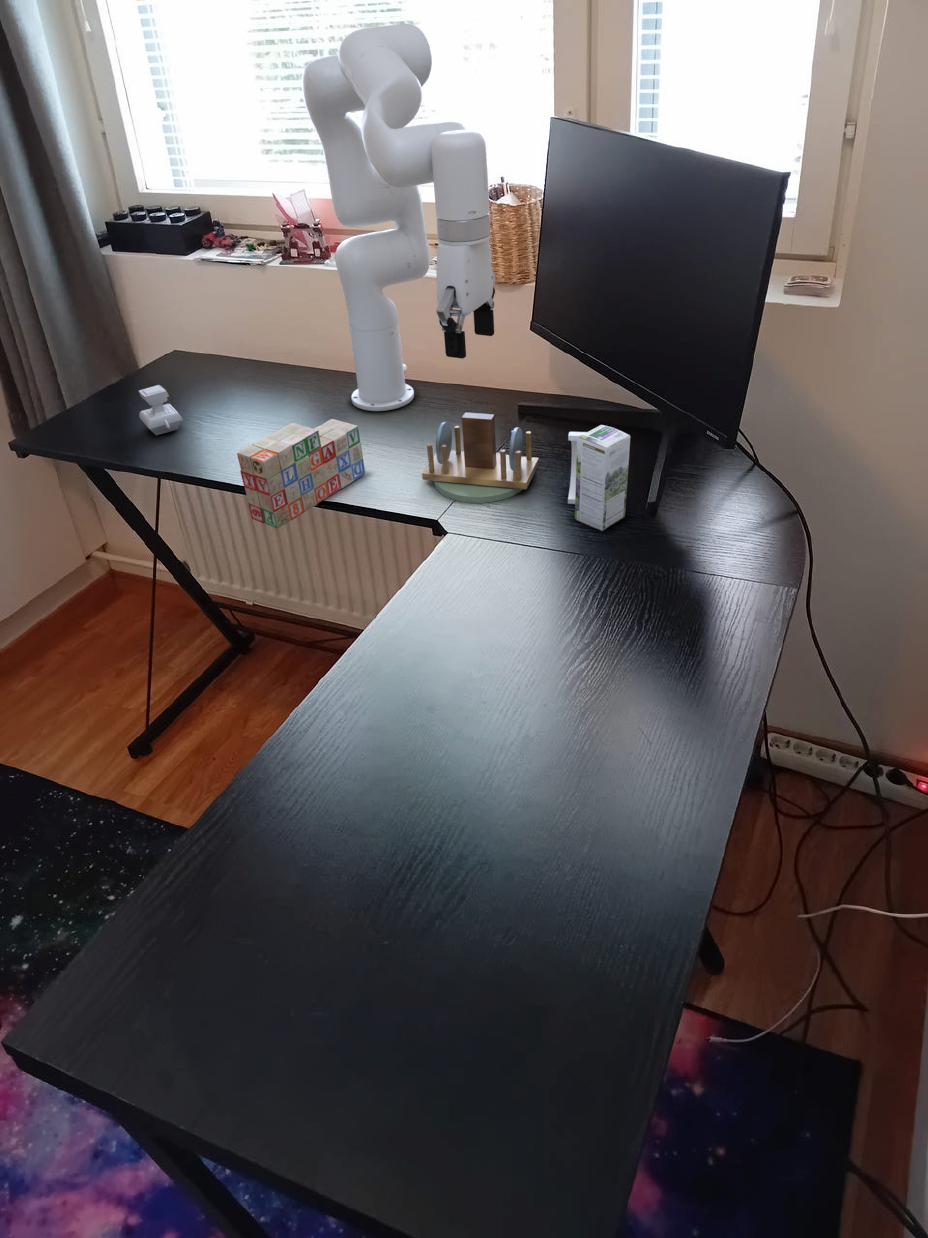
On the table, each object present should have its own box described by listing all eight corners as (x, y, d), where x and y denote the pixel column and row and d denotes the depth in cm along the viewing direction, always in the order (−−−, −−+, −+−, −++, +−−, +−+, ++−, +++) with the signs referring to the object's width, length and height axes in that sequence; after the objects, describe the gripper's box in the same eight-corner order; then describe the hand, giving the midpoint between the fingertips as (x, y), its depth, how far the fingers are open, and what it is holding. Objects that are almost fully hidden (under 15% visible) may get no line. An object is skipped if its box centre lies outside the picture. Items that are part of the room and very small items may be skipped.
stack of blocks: (340, 466, 167) (329, 401, 160) (366, 474, 164) (357, 408, 157) (250, 519, 154) (235, 451, 147) (277, 529, 151) (263, 460, 143)
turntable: (450, 454, 168) (450, 448, 168) (538, 461, 164) (538, 455, 163) (422, 498, 156) (421, 491, 155) (515, 507, 152) (515, 500, 151)
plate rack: (422, 479, 158) (416, 423, 152) (438, 455, 165) (434, 400, 159) (526, 489, 153) (525, 431, 147) (539, 463, 160) (538, 408, 154)
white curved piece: (567, 503, 152) (568, 435, 145) (571, 485, 157) (572, 418, 149) (596, 505, 151) (598, 436, 144) (599, 486, 156) (601, 419, 149)
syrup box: (597, 505, 151) (599, 422, 142) (626, 518, 147) (631, 433, 139) (574, 520, 148) (575, 435, 139) (603, 532, 144) (606, 446, 135)
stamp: (187, 433, 182) (177, 392, 177) (154, 442, 180) (142, 401, 175) (173, 417, 188) (162, 377, 183) (140, 427, 186) (129, 386, 181)
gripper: (467, 211, 141) (473, 324, 152) (410, 243, 129) (422, 363, 139) (512, 214, 138) (516, 329, 149) (459, 246, 126) (467, 369, 136)
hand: (470, 345), depth 144 cm, fingers open, 9 cm apart
